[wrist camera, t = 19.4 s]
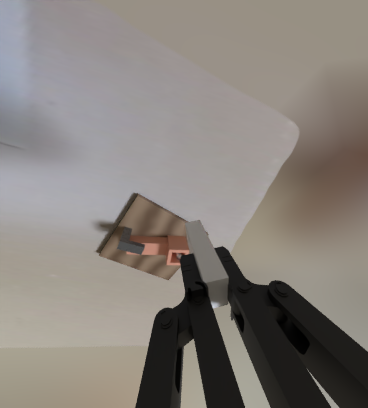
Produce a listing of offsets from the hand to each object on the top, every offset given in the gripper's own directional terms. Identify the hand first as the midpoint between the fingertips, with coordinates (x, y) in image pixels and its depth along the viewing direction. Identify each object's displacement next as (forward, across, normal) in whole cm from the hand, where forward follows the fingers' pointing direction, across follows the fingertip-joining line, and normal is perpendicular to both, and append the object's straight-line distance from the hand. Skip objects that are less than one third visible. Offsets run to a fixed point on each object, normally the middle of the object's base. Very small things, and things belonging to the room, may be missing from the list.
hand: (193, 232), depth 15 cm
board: (+25, -8, -20) cm, 33 cm away
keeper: (+25, -13, -15) cm, 32 cm away
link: (+24, -7, -20) cm, 32 cm away
